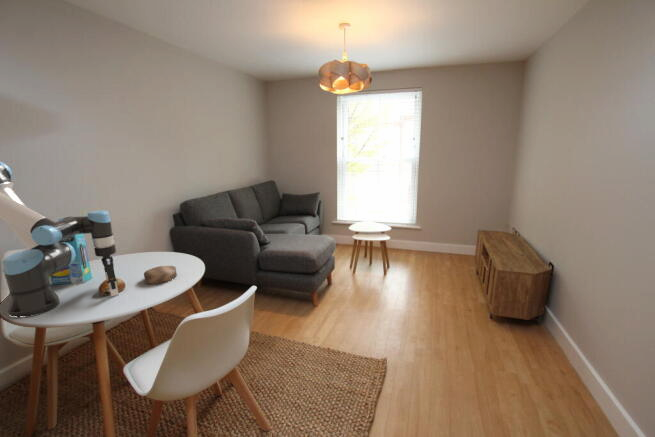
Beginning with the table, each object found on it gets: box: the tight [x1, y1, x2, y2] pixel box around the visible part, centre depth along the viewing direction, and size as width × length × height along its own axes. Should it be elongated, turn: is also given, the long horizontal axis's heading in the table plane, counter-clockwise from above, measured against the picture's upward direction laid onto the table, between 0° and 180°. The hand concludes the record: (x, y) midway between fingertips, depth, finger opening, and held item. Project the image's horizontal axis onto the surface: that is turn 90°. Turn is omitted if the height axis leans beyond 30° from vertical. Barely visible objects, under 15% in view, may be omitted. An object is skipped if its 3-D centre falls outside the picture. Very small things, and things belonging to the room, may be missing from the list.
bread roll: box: [98, 277, 126, 297], centre depth 139 cm, size 10×10×8 cm
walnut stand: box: [143, 265, 178, 286], centre depth 151 cm, size 14×14×4 cm
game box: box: [48, 234, 93, 286], centre depth 147 cm, size 20×6×27 cm, turn 95°
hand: (113, 290), depth 139 cm, fingers open, 13 cm apart
